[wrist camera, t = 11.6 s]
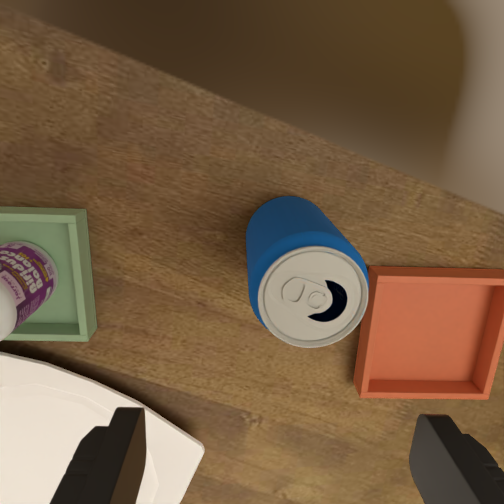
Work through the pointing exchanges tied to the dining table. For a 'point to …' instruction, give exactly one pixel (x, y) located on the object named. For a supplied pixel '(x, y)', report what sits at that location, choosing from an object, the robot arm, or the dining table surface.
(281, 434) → the dining table surface
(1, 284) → the pill bottle
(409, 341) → the terracotta tray
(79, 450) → the robot arm
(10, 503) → the plate
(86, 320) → the green tray
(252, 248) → the beverage can
